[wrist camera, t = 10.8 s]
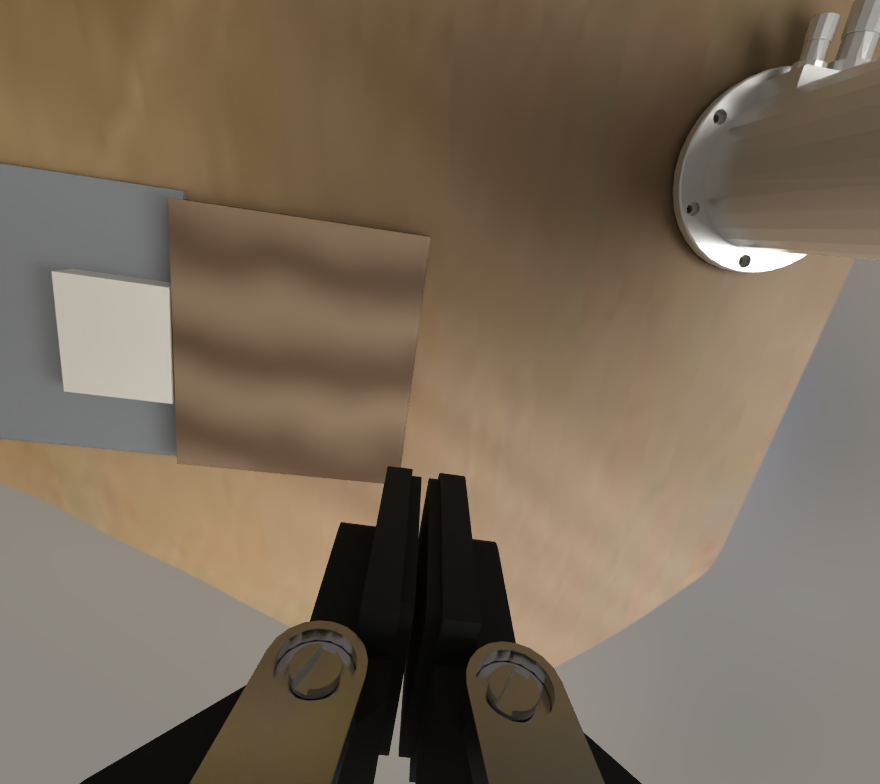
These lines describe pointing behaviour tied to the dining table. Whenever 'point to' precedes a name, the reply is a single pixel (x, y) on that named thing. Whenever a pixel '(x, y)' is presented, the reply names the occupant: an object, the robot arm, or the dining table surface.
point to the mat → (33, 307)
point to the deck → (292, 341)
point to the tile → (115, 335)
